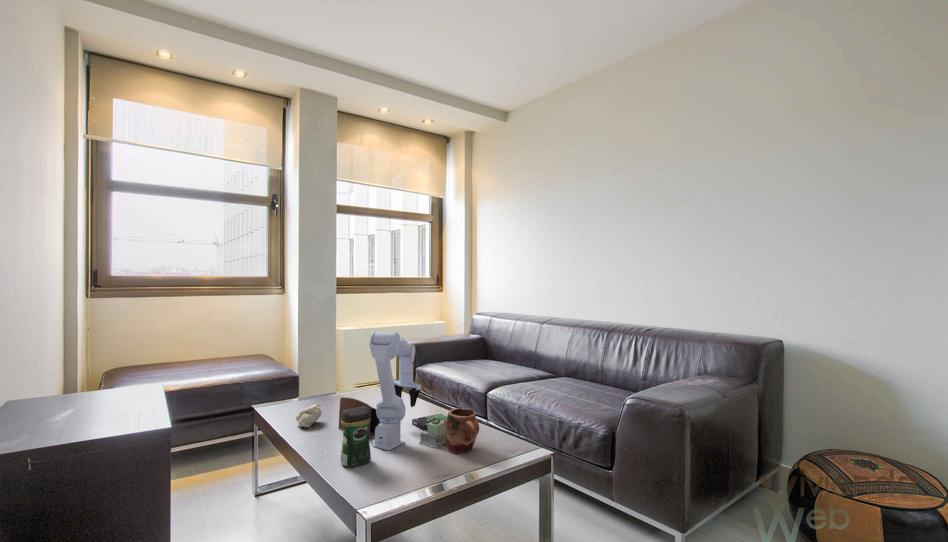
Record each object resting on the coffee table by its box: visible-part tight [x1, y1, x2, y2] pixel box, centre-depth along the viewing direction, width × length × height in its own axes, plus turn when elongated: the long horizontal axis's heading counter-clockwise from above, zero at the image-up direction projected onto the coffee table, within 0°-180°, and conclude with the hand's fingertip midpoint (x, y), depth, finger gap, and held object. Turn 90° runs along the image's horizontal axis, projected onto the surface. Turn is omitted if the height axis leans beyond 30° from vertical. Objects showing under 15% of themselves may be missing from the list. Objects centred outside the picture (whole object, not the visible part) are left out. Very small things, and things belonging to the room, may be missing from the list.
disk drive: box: [411, 413, 448, 432], centre depth 189 cm, size 10×3×15 cm
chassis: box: [418, 431, 447, 449], centre depth 170 cm, size 12×8×4 cm, turn 149°
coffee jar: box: [340, 406, 372, 468], centre depth 150 cm, size 10×8×19 cm
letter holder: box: [338, 397, 381, 440], centre depth 180 cm, size 10×20×14 cm, turn 52°
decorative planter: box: [444, 407, 480, 454], centre depth 161 cm, size 20×12×14 cm, turn 32°
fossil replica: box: [295, 403, 322, 429], centre depth 187 cm, size 12×8×10 cm
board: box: [426, 418, 446, 436], centre depth 171 cm, size 7×4×5 cm, turn 150°
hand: (405, 404), depth 183 cm, fingers open, 7 cm apart
